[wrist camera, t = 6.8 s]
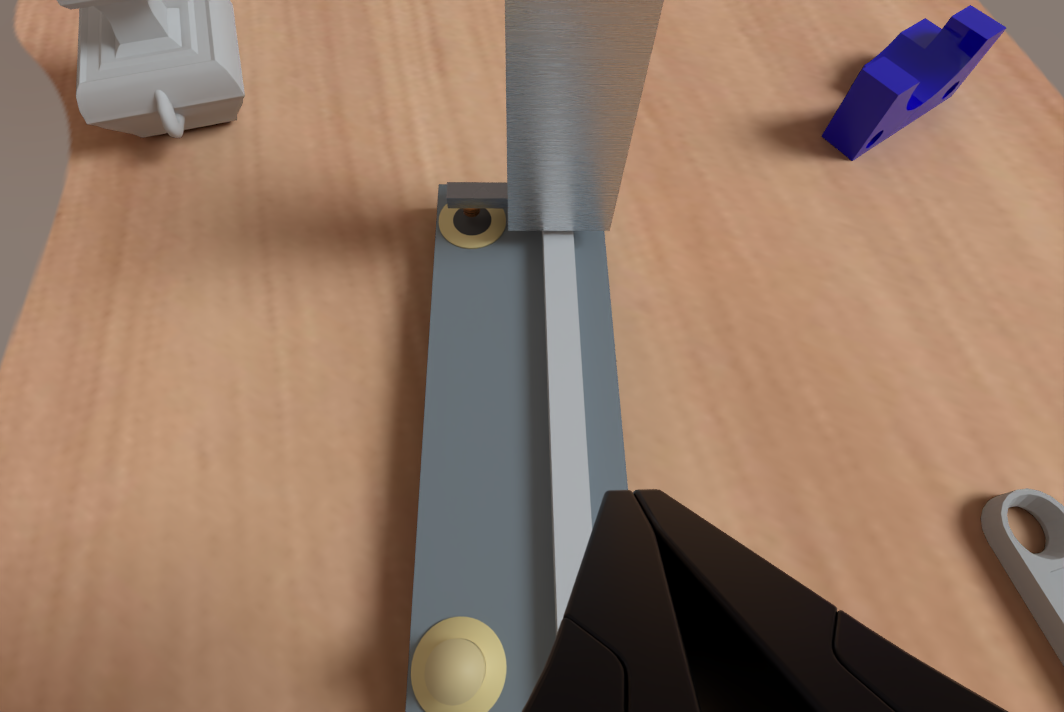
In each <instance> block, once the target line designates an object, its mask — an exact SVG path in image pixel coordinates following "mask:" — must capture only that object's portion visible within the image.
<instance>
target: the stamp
mask: <svg viewBox="0 0 1064 712" xmlns="http://www.w3.org/2000/svg"><path fill="white" fill-rule="evenodd" d="M57 1H58V3H59V4H60V6H63V7H66V8H68V9H78V8H80V9H79V35H78V60H77V85H76V99H77V103H78V107H79V111H80V113H81V114H82V116H83V118H84V119H85V121H86V123H87V124H89V125H95V126H98V127H101V128H104V129H109V130H114V131H119V132H125V133H130V134H134V135H136V136H139V137H141V138H143V137H149V136H154V135H160V134H165V133H168V134H169V135H170V136H171V137H173V138H181V137H182V135H183V131H184V130H186V129H192V128H197V127H202V126H208V125H213V124H219V123H224V122H229V121H235V120H237V114H238V112H239V110H240V107H241V105H242V103H243V98H244V96H245V93H244V86H243V79H242V71H241V64H240V56H239V49H238V41H237V34H236V26H235V19H234V11H233V4H232V3H231V2H230V0H57Z"/></svg>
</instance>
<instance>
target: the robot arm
mask: <svg viewBox="0 0 1064 712" xmlns="http://www.w3.org/2000/svg"><path fill="white" fill-rule="evenodd" d="M522 712H1008V711H1006V710H1004V709H1003V708H1001V707H999V706H998V705H996V704H994V703H992V702H991V701H989V700H987V699H985V698H984V697H982V696H980V695H978V694H977V693H975V692H973V691H971V690H970V689H968V688H966V687H964V686H963V685H961V684H959V683H957V682H956V681H954V680H952V679H951V678H949V677H947V676H946V675H944V674H942V673H941V672H939V671H937V670H935V669H934V668H932V667H930V666H929V665H927V664H925V663H924V662H922V661H920V660H919V659H917V658H915V657H913V656H912V655H910V654H908V653H907V652H905V651H904V650H902V649H901V648H899V647H898V646H896V645H894V644H893V643H891V642H890V641H888V640H887V639H885V638H883V637H882V636H880V635H879V634H877V633H876V632H874V631H872V630H871V629H869V628H868V627H866V626H865V625H863V624H862V623H860V622H859V621H857V620H856V619H854V618H853V617H851V616H850V615H848V614H847V613H845V612H844V611H842V610H839V611H838V612H837V608H836V606H834V605H833V604H831V603H830V602H828V601H827V600H825V599H824V598H822V597H821V596H819V595H818V594H816V593H815V592H813V591H812V590H810V589H809V588H807V587H806V586H804V585H803V584H801V583H800V582H798V581H797V580H795V579H794V578H792V577H791V576H789V575H788V574H786V573H785V572H783V571H782V570H780V569H779V568H777V567H776V566H774V565H772V564H771V563H769V562H768V561H766V560H765V559H763V558H762V557H760V556H759V555H757V554H756V553H754V552H753V551H751V550H750V549H748V548H747V547H745V546H744V545H742V544H741V543H739V542H738V541H736V540H735V539H733V538H732V537H730V536H729V535H727V534H726V533H724V532H723V531H721V530H720V529H718V528H717V527H715V526H714V525H712V524H711V523H709V522H708V521H706V520H705V519H703V518H702V517H700V516H699V515H697V514H696V513H694V512H693V511H691V510H690V509H688V508H687V507H685V506H684V505H682V504H681V503H679V502H678V501H676V500H675V499H673V498H672V497H670V496H669V495H667V494H666V493H664V492H662V491H661V490H657V489H648V490H635V491H634V492H633V493H632V491H630V490H608V491H606V492H605V493H604V496H603V499H602V502H601V505H600V508H599V511H598V514H597V517H596V520H595V523H594V526H593V529H592V532H591V535H590V538H589V541H588V544H587V547H586V550H585V553H584V556H583V559H582V562H581V565H580V568H579V571H578V574H577V577H576V580H575V583H574V586H573V589H572V592H571V595H570V598H569V601H568V604H567V607H566V610H565V613H564V616H563V619H562V621H561V623H560V626H559V629H558V632H557V635H556V638H555V641H554V643H553V646H552V648H551V651H550V654H549V656H548V659H547V661H546V664H545V666H544V669H543V671H542V673H541V675H540V677H539V679H538V681H537V683H536V685H535V687H534V689H533V691H532V693H531V695H530V697H529V699H528V701H527V703H526V705H525V706H524V708H523V710H522Z"/></svg>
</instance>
